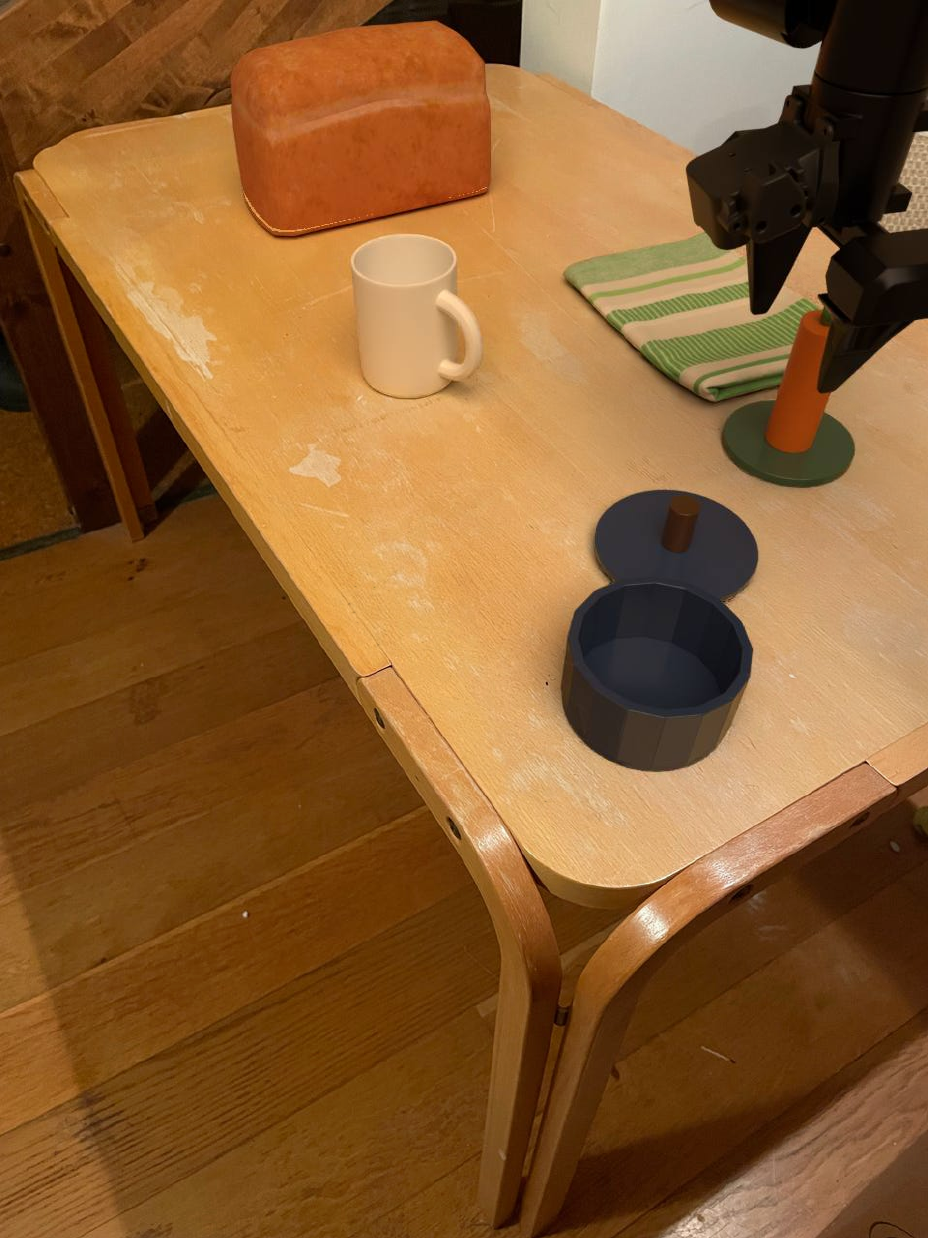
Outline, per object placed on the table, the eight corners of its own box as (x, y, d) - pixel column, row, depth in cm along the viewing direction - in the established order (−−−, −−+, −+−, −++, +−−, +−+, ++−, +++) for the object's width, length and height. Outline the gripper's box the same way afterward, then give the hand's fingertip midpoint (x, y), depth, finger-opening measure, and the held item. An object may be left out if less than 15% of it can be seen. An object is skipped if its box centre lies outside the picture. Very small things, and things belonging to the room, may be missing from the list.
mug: (510, 386, 76) (516, 271, 68) (445, 432, 72) (443, 315, 64) (408, 335, 81) (402, 223, 73) (341, 375, 77) (327, 260, 69)
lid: (760, 516, 65) (776, 467, 62) (748, 629, 58) (766, 581, 55) (608, 488, 67) (615, 439, 64) (578, 594, 60) (585, 545, 57)
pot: (737, 654, 57) (758, 596, 53) (721, 790, 50) (744, 736, 46) (579, 620, 59) (587, 562, 54) (545, 748, 52) (551, 692, 48)
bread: (235, 194, 100) (203, 31, 88) (447, 150, 107) (444, -5, 95) (274, 247, 92) (245, 76, 80) (500, 196, 99) (505, 33, 87)
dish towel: (717, 246, 91) (722, 220, 89) (868, 367, 77) (879, 338, 75) (561, 282, 87) (564, 255, 85) (692, 416, 73) (699, 388, 71)
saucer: (852, 419, 73) (855, 411, 72) (851, 498, 66) (855, 490, 66) (727, 399, 74) (729, 390, 74) (715, 474, 68) (717, 466, 68)
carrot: (813, 428, 71) (863, 289, 62) (811, 456, 68) (863, 316, 59) (766, 421, 71) (809, 282, 62) (763, 448, 69) (807, 308, 60)
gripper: (654, 30, 50) (619, 292, 61) (814, 165, 38) (733, 459, 49) (837, 15, 51) (769, 273, 63) (1046, 140, 39) (915, 431, 51)
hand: (790, 350), depth 57 cm, fingers open, 9 cm apart
